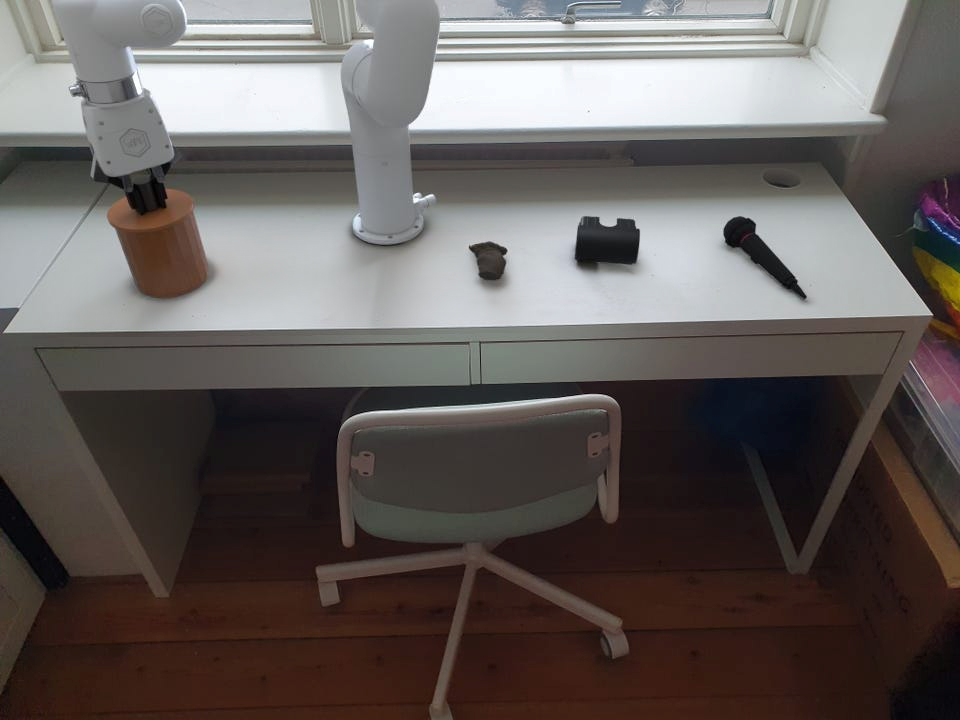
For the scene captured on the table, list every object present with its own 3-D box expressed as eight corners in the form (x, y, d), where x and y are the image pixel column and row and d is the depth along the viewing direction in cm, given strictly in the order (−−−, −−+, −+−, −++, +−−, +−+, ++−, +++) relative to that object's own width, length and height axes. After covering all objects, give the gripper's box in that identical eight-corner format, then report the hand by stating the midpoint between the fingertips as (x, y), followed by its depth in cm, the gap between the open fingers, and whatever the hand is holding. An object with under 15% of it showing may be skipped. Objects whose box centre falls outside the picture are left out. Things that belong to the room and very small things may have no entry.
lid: (176, 187, 119) (166, 154, 115) (208, 218, 112) (199, 183, 108) (97, 212, 113) (84, 177, 109) (126, 245, 106) (113, 209, 102)
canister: (192, 250, 126) (173, 186, 118) (221, 280, 119) (203, 214, 111) (125, 274, 120) (101, 208, 112) (152, 306, 114) (128, 239, 106)
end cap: (573, 269, 122) (577, 234, 117) (574, 247, 127) (578, 212, 123) (634, 274, 121) (640, 238, 116) (633, 251, 126) (639, 216, 122)
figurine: (469, 255, 126) (470, 291, 117) (468, 231, 124) (469, 266, 114) (506, 253, 126) (510, 289, 117) (506, 229, 124) (510, 264, 114)
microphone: (805, 311, 118) (732, 237, 130) (827, 283, 115) (750, 210, 127) (783, 311, 115) (710, 235, 128) (805, 282, 112) (728, 207, 124)
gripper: (57, 110, 93) (104, 235, 105) (180, 81, 101) (211, 201, 113) (40, 92, 98) (87, 215, 110) (160, 66, 106) (191, 183, 118)
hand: (150, 207), depth 111 cm, fingers closed on lid, 2 cm apart
